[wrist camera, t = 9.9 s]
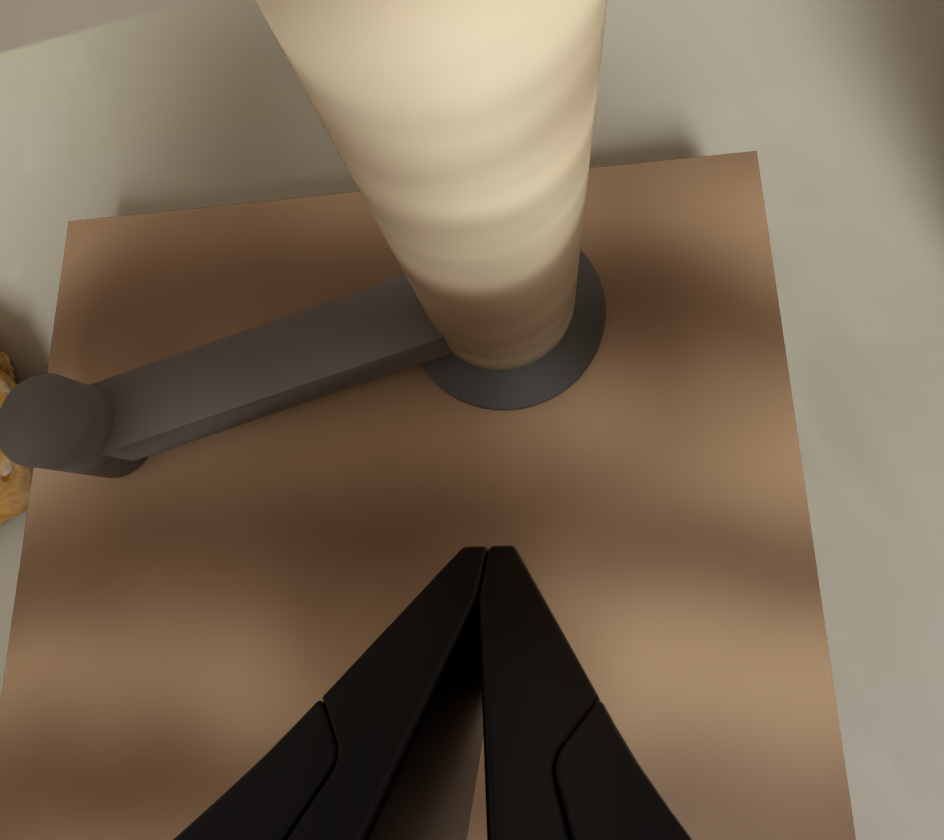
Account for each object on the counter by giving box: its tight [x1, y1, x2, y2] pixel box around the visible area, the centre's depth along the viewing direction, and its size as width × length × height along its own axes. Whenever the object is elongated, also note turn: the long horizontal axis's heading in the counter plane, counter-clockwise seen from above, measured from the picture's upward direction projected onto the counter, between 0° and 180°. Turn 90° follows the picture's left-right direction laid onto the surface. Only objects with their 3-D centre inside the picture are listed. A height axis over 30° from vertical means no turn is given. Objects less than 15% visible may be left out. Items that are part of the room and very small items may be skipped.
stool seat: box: [0, 151, 856, 840], centre depth 17 cm, size 22×22×3 cm
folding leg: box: [0, 0, 607, 478], centre depth 11 cm, size 4×15×10 cm, turn 107°
